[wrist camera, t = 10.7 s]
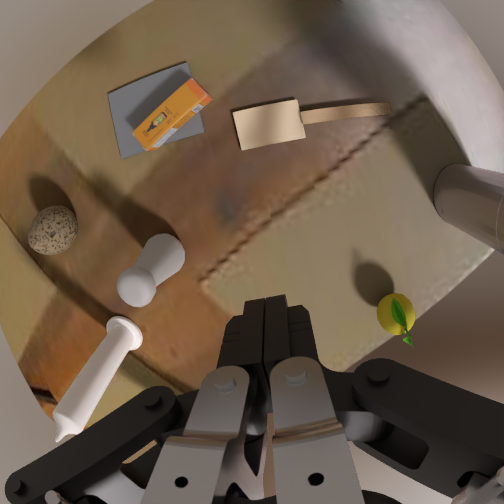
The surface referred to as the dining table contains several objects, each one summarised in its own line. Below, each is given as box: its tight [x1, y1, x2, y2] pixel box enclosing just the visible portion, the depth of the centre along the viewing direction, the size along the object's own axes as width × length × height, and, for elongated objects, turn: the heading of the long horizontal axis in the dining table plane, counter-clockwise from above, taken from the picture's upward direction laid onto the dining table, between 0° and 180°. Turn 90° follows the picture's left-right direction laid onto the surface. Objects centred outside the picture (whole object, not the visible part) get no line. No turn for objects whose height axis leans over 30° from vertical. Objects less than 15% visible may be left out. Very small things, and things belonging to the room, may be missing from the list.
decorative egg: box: [28, 205, 78, 255], centre depth 34 cm, size 7×7×10 cm
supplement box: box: [132, 78, 212, 151], centre depth 31 cm, size 3×3×10 cm
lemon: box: [377, 293, 415, 346], centre depth 36 cm, size 7×6×10 cm
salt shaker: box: [117, 233, 185, 307], centre depth 33 cm, size 6×6×13 cm
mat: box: [108, 62, 205, 159], centre depth 32 cm, size 12×10×1 cm
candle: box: [53, 316, 143, 442], centre depth 34 cm, size 7×7×25 cm
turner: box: [233, 99, 392, 150], centre depth 31 cm, size 20×5×1 cm, turn 103°
